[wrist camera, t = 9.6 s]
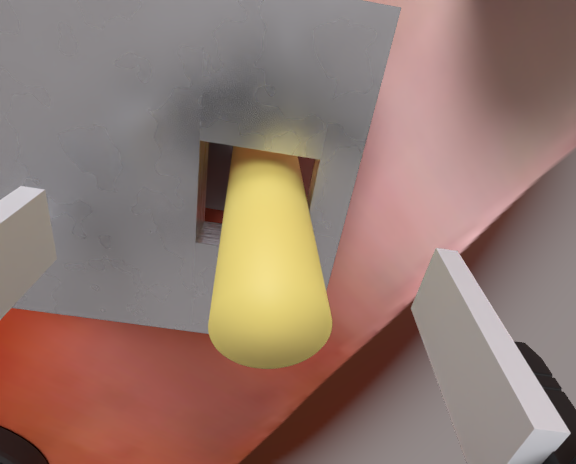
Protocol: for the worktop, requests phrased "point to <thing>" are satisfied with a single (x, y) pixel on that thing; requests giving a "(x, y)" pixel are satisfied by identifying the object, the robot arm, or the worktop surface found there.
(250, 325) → the pin
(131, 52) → the gray slab
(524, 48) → the worktop surface
